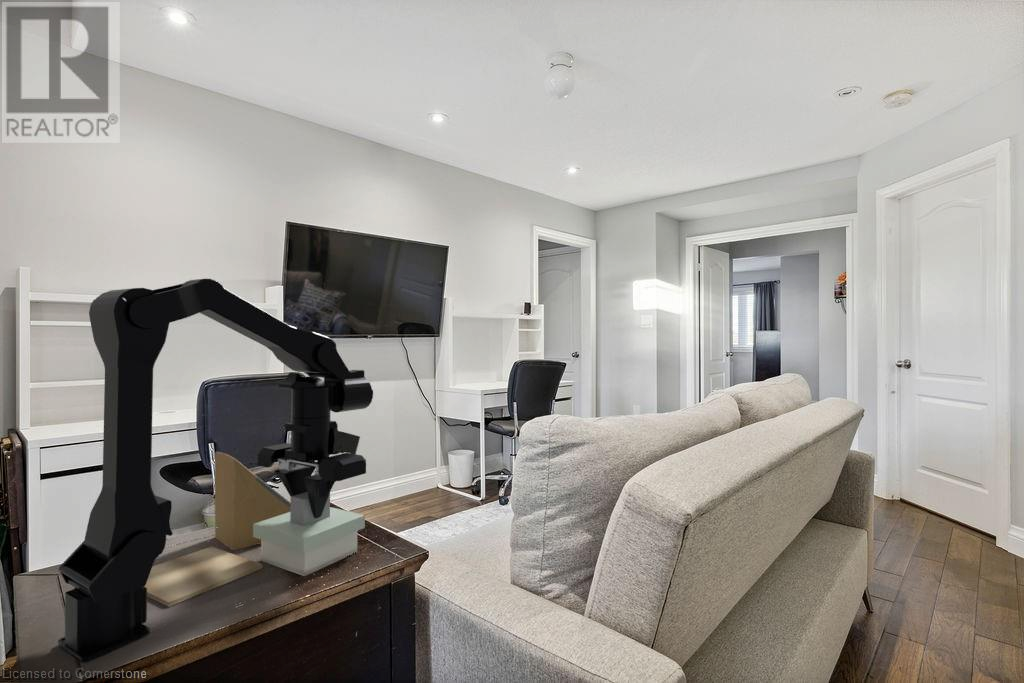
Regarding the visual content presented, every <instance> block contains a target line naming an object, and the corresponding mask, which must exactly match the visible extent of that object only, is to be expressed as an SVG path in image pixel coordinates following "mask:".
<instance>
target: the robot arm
mask: <svg viewBox="0 0 1024 683" xmlns="http://www.w3.org/2000/svg"><path fill="white" fill-rule="evenodd" d="M197 314H201V315H203V316H206V317H207V318H208V319H209V318H210V319H211V320H213V321H216V322H217V323H219V324H221V325H224V326H225V327H227V328H229V329H231V330H232V331H235V332H236V333H238V334H240V335H242V336H244V337H247V338H248V339H251V340H252V341H254V342H256V343H259V344H260V345H261V346H264V347H266V348H267V350H269V351H271V352H272V354H273V355H274V356H275V358H276V360H278V361H279V362H281V363H282V364H284V365H285V366H286V367H287V368H288V369H290V370H291V371H293V372H288V374H287V375H286V377H285V378H284V379H282V380H281V381H280V382H279V383H278V384H277V387H278V388H279V389H283V390H284V389H285V390H291V400H290V401H291V402H290V403H291V404H290V405H291V412H290V413H291V415H290V416H291V417H290V418H291V419H290V420H291V422H287V423H284V425H285V426H284V429H285V431H289V432H291V433H290V438H291V439H290V440H291V441H290V442H291V443H288V442H286V443H284V442H283V443H281V444H275V445H270V446H264V447H262V448H261V450H260V451H259V452H258V453H257V466H258V467H263V468H272V467H273V465H274V464H275V463H277V462H278V469H275V470H274V475H276V476H278V478H279V480H280V481H281V483H282V484H283V486H284V487H285V489H286V491H287V493H288V495H289V498H291V496H294V495H298V494H301V493H304V492H307V493H308V497H309V501H310V506H311V510H312V513H313V516H314V518H319V517H321V516H322V513H323V510H324V507H325V505H326V502H327V499H328V496H329V493H330V494H331V490H332V489H333V488H334V487H333V486H334V484H335V483H336V482H342V481H344V480H348V479H351V478H354V477H358V476H361V475H364V474H367V459H366V458H365V457H364V456H363V455H362V454H361V455H360V454H357V450H358V446H359V443H360V439H361V436H359V435H355V434H352V433H349V432H345V431H342V430H341V431H340V430H338V428H339V426H338V423H337V421H336V420H331V412H333V413H343V412H350V411H356V410H357V411H359V410H364V409H367V408H368V407H369V406H370V405H371V404H372V402H373V401H372V400H373V399H374V390H373V387H372V385H371V383H370V381H369V379H367V377H365V370H364V369H352V370H351V369H350V370H349V368H348V367H347V364H346V363H345V362H344V361H343V358H342V356H341V355H340V353H338V352H339V351H338V349H337V343H336V342H335V341H334V340H333V339H332V338H331V337H329V336H326V335H324V334H321V333H317V332H315V331H311V330H307V329H304V328H299V327H296V326H293V325H290V324H288V323H287V322H284V321H283V320H281V319H279V318H278V317H276V316H275V315H272V314H271V313H270V312H268V311H266V310H264V309H262V308H260V307H259V306H257V305H255V304H253V303H251V302H250V301H248V300H247V299H244V298H242V297H241V296H239V295H238V294H236V293H234V292H232V291H231V290H229V289H227V288H225V287H224V286H223V284H222V283H219V281H217V280H215V279H212V278H199V279H197V278H196V279H190V280H187V281H185V282H184V283H178V284H176V285H171V286H166V287H162V288H155V289H150V288H144V287H135V288H134V287H133V288H123V289H111V290H108V291H105V292H102V293H101V294H100V295H98V296H97V297H96V298H95V299H93V300H92V302H91V303H90V306H89V310H88V316H89V322H90V326H91V332H92V337H93V342H94V343H95V347H96V350H97V351H98V354H99V356H100V359H101V360H102V362H103V366H104V389H103V390H104V396H103V397H104V402H103V440H102V441H103V448H102V487H101V490H100V493H99V495H98V496H97V499H96V501H95V502H94V504H93V507H92V509H91V511H90V514H89V518H88V523H87V527H86V531H85V535H84V540H83V541H82V543H80V544H79V546H77V548H76V549H75V550H74V551H73V552H72V553H71V554H70V555H69V556H68V557H67V558H66V559H65V560H64V561H63V563H62V564H61V565H60V566H59V567H58V572H59V573H60V575H61V578H62V580H63V581H64V583H65V584H68V585H70V586H72V587H74V588H73V589H70V590H68V591H65V593H64V596H65V597H64V636H63V637H61V638H59V639H58V640H57V645H58V646H59V647H60V648H61V649H63V650H64V651H66V652H67V653H68V654H70V655H72V656H73V657H75V658H76V659H77V660H79V661H80V662H86V661H89V660H92V659H95V658H96V657H98V656H100V655H104V654H106V653H108V652H110V651H112V650H115V649H117V648H120V647H121V646H123V645H126V644H128V643H131V642H133V641H135V640H137V639H139V638H142V637H145V636H147V635H148V634H150V632H151V631H150V626H149V627H148V626H147V625H145V623H146V622H147V619H148V597H147V588H146V587H144V586H145V585H146V582H147V580H148V577H149V574H150V572H151V569H152V567H153V566H154V563H155V561H156V559H157V558H158V557H160V555H162V554H163V553H164V550H165V548H166V545H167V544H166V543H167V536H169V537H171V536H172V535H173V531H172V529H171V526H170V523H171V522H170V519H171V513H172V506H173V505H172V501H171V500H170V499H167V498H164V497H160V496H158V495H155V493H154V490H153V487H152V447H153V400H154V398H153V395H154V368H155V364H156V361H157V360H158V358H159V356H160V354H161V352H162V350H163V347H164V345H165V344H166V341H167V336H168V332H169V327H170V323H173V322H177V321H181V320H184V319H187V318H189V317H192V316H194V315H197ZM300 373H304V374H306V375H307V376H302V375H301V374H300ZM321 378H323V380H322V379H321ZM331 455H332V456H331Z"/></svg>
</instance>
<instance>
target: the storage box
mask: <svg viewBox="0 0 1024 683" xmlns="http://www.w3.org/2000/svg"><path fill="white" fill-rule="evenodd" d="M355 552H356V553H358V531H356V532H353V533H351V534H349V535H346V536H344V537H341V538H339V539H337V540H334V541H332V542H329V543H327V544H324V545H322V546H320V547H317V548H315V549H312V550H310V551H308V552H305V553H302V552H299V551H296V550H293V549H289V548H286V547H283V546H280V545H277V544H274V543H271V542H267V541H264V540H261V543H260V561H261V562H263V563H266V564H268V565H272V566H274V567H277V568H280V569H283V570H285V571H289V572H291V573H294V574H297V575H300V576H301V577H306V576H308V575H311V574H313V573H316V572H317V571H320V570H321V569H324V568H326V567H328V566H330V565H332V564H335V563H337V562H339V561H341V560H343V559H345V558H347V556H348V557H349V555H350V556H352V555H354V554H356V553H355ZM353 553H354V554H353Z"/></svg>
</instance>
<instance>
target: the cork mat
mask: <svg viewBox="0 0 1024 683" xmlns="http://www.w3.org/2000/svg"><path fill="white" fill-rule="evenodd" d="M260 570H263V563H260V562H256V561H254V560H251V559H248V558H245V557H243V556H240V555H236V554H235V553H231V552H229V551H227V550H222V549H221V548H217V547H216V546H215V547H214V546H209V547H206V548H203V549H200V550H197V551H194V552H191V553H188V554H185V555H183V556H180V557H176V558H173V559H171V560H167V561H165V562H162V563H159V564H155V565H153V566H152V569H151V572H150V574H149V577H148V580H147V582H146V585H145V586H144V587H146V588H147V598H149V599H152V600H154V601H155V602H157V603H159V604H162V605H164V606H166V607H168V608H170V607H172V606H174V605H176V604H177V605H178V604H179V603H182V602H184V601H187V600H189V599H192V598H194V597H196V596H199V595H202V594H203V593H206V592H209V591H211V590H213V589H216V588H219V587H221V586H223V585H225V584H228V583H230V582H232V581H235V580H238V579H240V578H242V577H245V576H247V575H249V574H252V573H255V572H257V571H260Z"/></svg>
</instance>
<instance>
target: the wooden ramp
mask: <svg viewBox="0 0 1024 683" xmlns="http://www.w3.org/2000/svg"><path fill="white" fill-rule="evenodd" d="M290 507H291V501H289V500H288V499H286V498H285V497H284V496H283V495H281V494H280V493H279V492H278V491H276V490H275V489H274V488H272V487H271V486H270V485H269V484H267V483H266V482H265V481H264V480H262V479H261V478H260V477H259V476H257V474H255V473H254V472H253V471H251V469H248V468H247V467H246V466H245V465H244V464H242V463H241V462H240V461H239V460H238V459H236V458H235V457H233V456H231V455H229V454H228V453H223V452H220V451H215V453H214V538H215V539H217V541H219V542H221V543H222V544H223V545H225V546H226V547H227V548H229V549H230V550H231V551H236V550H241V549H245V548H249V547H251V546H256V545H259V544H260V545H261V539H258V538H255V537H253V524H254V523H257V522H261V521H264V520H267V519H270V518H273V517H276V516H279V515H282V514H285V513H288V512H290ZM216 527H218V528H216Z"/></svg>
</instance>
